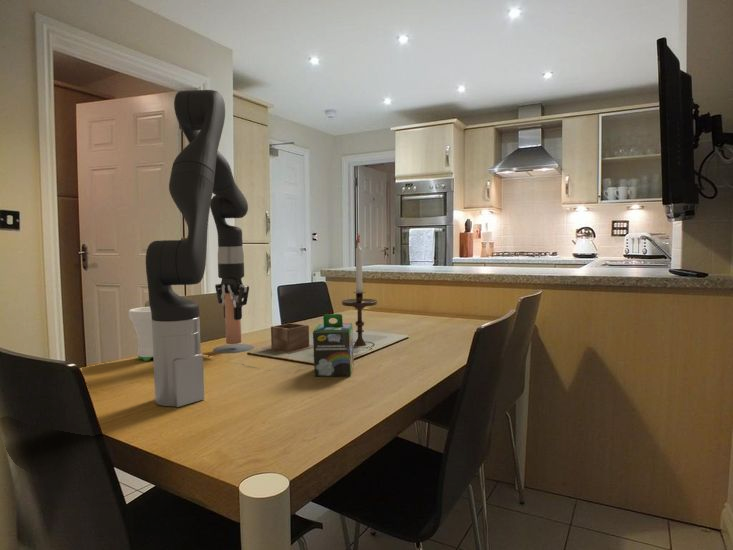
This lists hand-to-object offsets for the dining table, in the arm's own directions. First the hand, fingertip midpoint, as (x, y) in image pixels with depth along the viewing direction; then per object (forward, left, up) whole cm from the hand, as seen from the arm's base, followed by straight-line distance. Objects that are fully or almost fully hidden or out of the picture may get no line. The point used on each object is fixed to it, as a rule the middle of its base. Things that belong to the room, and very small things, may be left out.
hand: (232, 318), depth 143 cm
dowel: (0, 0, -7) cm, 7 cm away
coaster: (0, 0, -10) cm, 10 cm away
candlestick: (-28, -26, -10) cm, 40 cm away
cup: (+12, +19, -10) cm, 25 cm away
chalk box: (-40, -1, -10) cm, 41 cm away
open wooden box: (-13, -11, -10) cm, 20 cm away
